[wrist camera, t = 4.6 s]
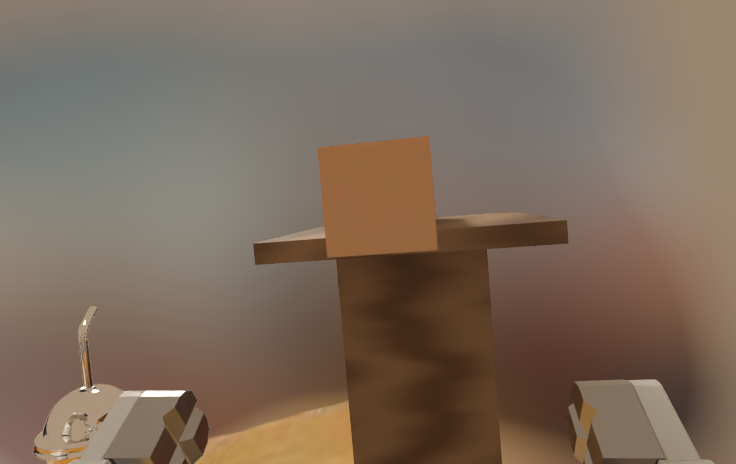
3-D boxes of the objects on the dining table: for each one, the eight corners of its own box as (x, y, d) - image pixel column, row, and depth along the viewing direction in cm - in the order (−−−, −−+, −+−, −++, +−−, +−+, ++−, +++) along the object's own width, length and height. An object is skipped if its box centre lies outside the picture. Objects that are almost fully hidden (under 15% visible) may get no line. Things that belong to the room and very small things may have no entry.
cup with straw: (21, 580, 38) (-12, 332, 37) (98, 507, 47) (74, 306, 46) (119, 581, 37) (89, 327, 35) (180, 507, 46) (157, 301, 44)
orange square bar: (327, 257, 13) (317, 147, 13) (392, 222, 33) (388, 179, 33) (437, 250, 13) (429, 136, 12) (435, 219, 32) (432, 175, 32)
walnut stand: (304, 761, 24) (253, 243, 22) (352, 554, 37) (322, 226, 36) (601, 787, 22) (566, 220, 20) (536, 558, 35) (513, 211, 34)
